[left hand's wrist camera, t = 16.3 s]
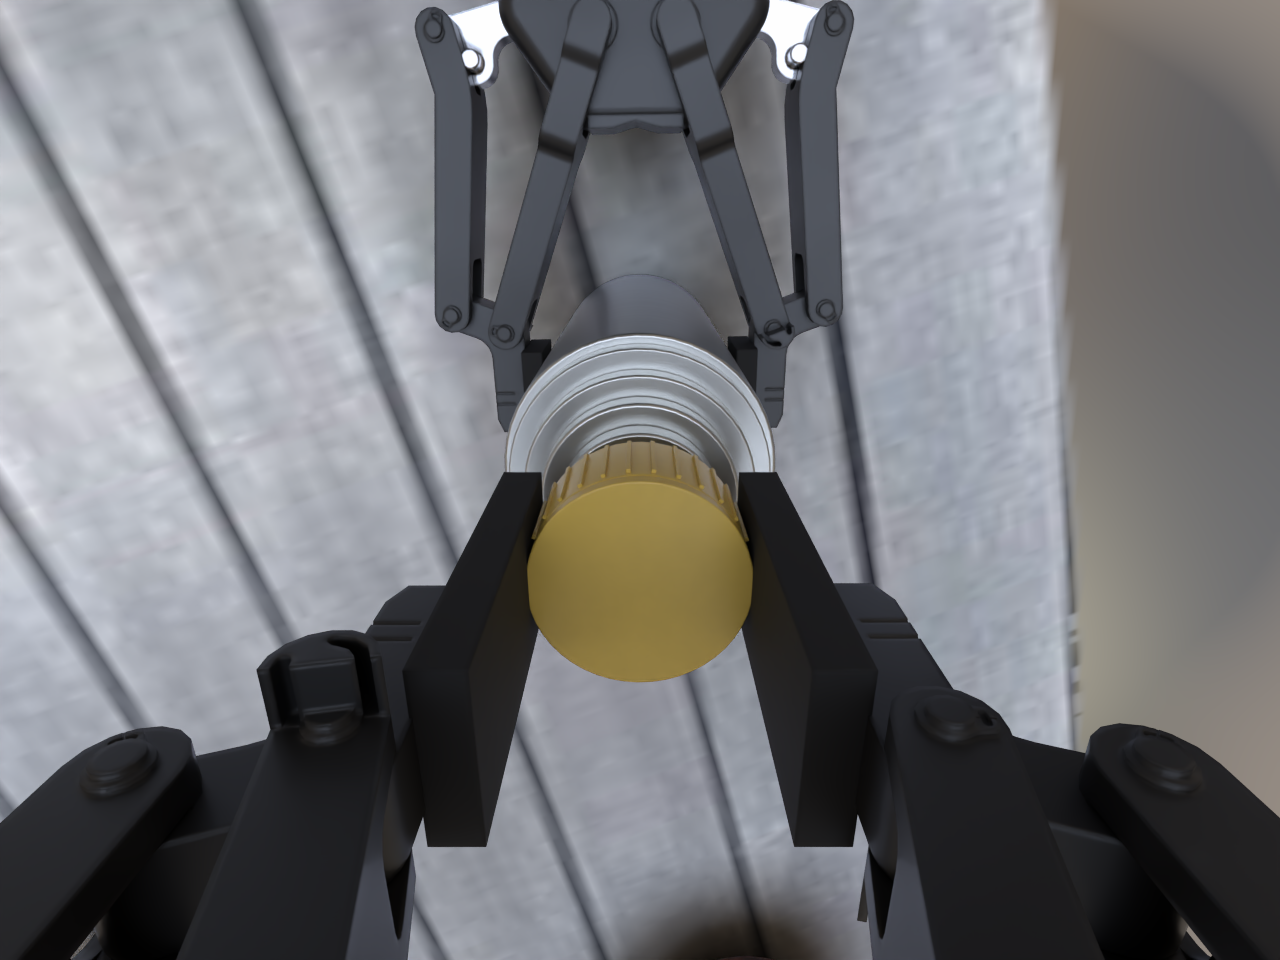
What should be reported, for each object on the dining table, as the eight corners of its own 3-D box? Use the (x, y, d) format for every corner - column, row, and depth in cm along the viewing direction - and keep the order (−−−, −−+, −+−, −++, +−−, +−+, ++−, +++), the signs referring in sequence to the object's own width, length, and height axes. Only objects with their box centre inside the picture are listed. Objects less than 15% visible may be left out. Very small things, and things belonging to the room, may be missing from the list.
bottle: (722, 410, 34) (842, 702, 14) (581, 433, 34) (499, 748, 14) (703, 261, 32) (815, 357, 12) (551, 288, 32) (402, 424, 12)
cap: (701, 407, 14) (713, 443, 12) (766, 585, 15) (787, 645, 13) (505, 480, 14) (482, 526, 12) (585, 645, 16) (578, 712, 13)
